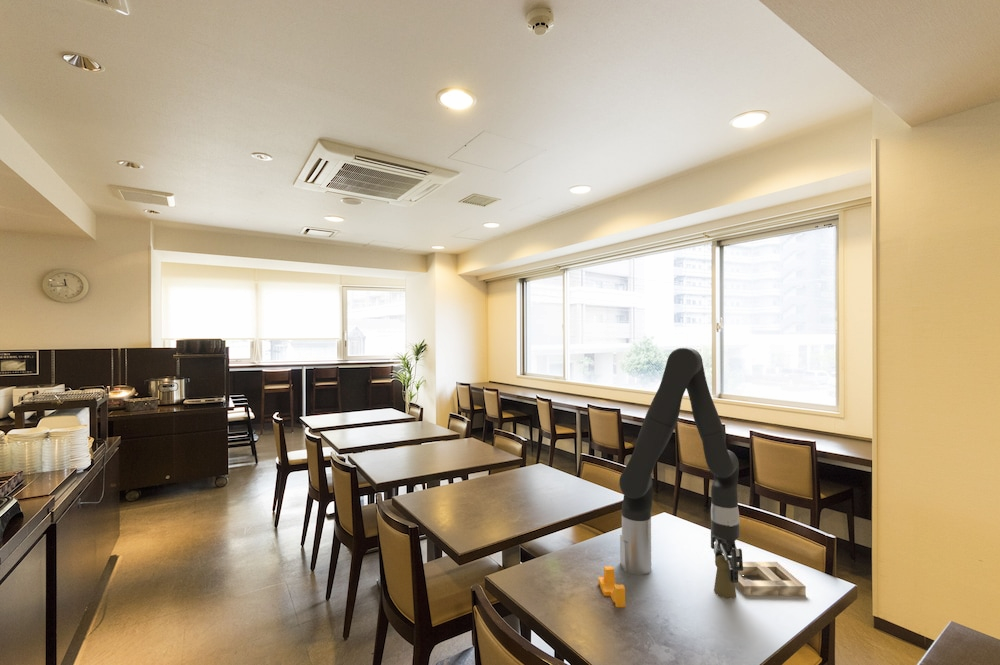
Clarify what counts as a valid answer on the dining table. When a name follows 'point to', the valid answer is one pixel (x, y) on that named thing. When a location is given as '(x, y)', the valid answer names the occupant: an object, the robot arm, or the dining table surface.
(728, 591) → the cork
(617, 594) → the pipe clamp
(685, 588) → the dining table surface
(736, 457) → the robot arm
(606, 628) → the dining table surface
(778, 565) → the socket block
